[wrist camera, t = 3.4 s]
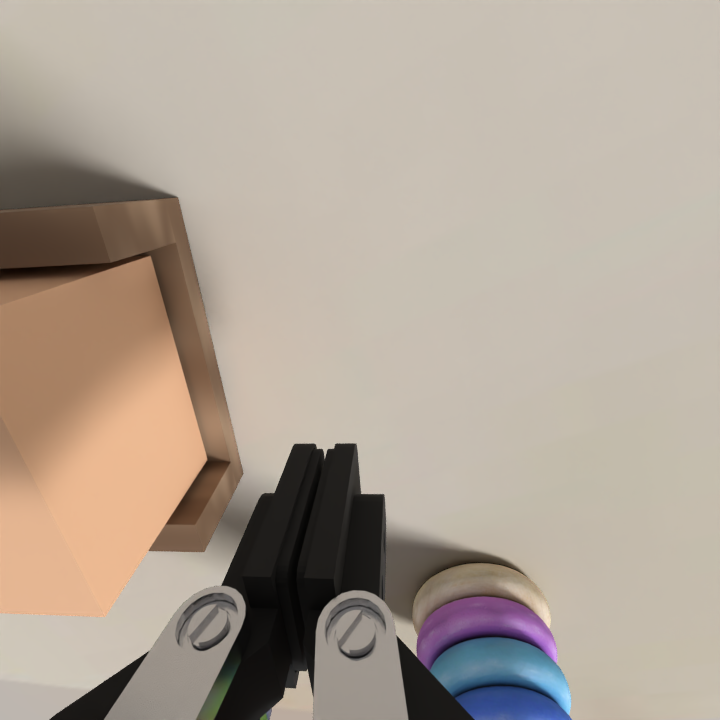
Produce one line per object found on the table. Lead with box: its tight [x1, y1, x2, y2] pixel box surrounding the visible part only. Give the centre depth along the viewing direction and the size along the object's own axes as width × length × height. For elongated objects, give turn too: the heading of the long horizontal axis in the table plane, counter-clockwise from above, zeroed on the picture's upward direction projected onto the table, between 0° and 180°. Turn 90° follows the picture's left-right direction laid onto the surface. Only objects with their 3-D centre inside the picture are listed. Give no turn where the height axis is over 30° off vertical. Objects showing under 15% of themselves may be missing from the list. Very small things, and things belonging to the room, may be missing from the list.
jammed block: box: [0, 256, 208, 617], centre depth 15 cm, size 10×8×8 cm
